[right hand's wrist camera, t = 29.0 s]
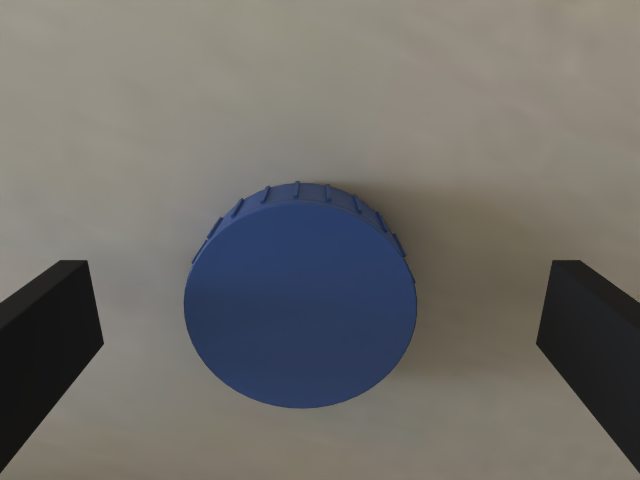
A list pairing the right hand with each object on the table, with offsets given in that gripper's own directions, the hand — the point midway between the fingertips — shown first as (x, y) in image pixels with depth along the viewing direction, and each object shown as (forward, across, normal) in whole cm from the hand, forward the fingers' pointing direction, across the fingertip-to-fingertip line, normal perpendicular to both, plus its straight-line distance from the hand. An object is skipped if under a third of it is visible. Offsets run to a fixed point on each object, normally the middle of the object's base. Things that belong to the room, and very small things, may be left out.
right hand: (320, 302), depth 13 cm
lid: (-1, 0, 0) cm, 1 cm away
